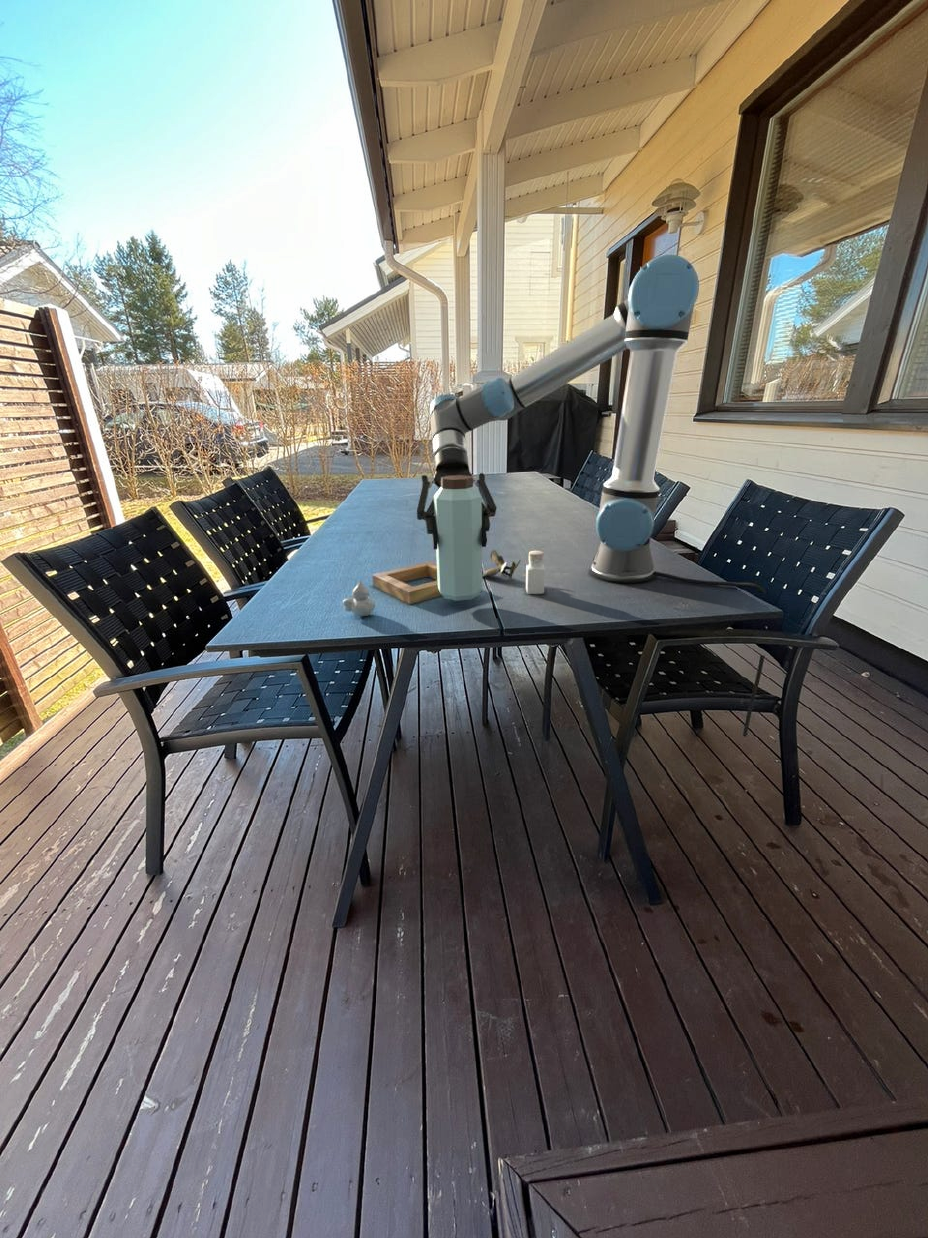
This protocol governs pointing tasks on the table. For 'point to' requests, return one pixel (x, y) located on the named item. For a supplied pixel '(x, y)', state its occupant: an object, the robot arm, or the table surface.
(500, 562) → the eagle figurine
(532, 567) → the pepper shaker
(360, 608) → the white rounded figurine
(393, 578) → the frame
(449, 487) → the water bottle
